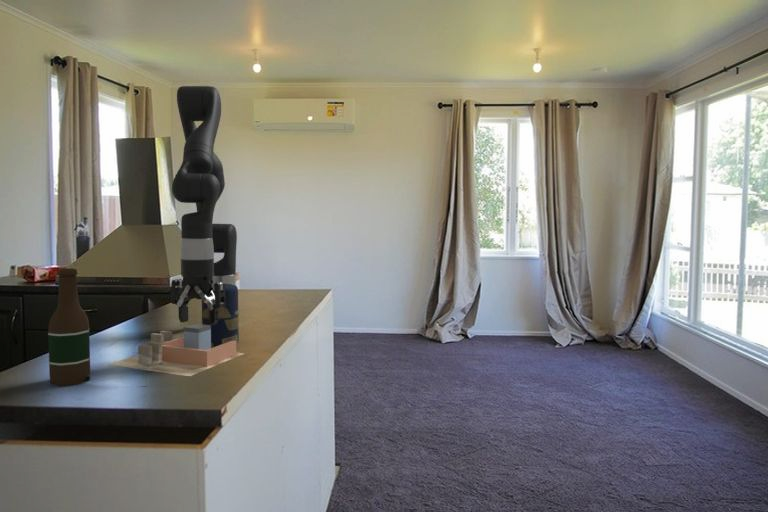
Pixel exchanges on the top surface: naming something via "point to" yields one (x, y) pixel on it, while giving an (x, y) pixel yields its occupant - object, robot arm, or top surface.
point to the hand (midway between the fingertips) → (198, 323)
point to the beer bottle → (68, 335)
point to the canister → (224, 318)
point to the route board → (152, 358)
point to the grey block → (197, 336)
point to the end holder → (196, 353)
